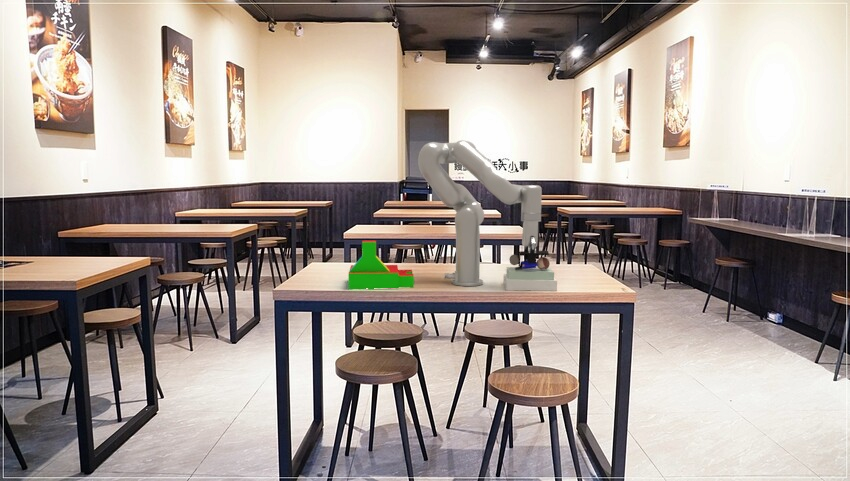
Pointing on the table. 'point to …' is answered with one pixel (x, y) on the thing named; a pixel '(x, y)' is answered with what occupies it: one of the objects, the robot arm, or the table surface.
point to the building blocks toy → (377, 272)
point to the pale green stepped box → (530, 279)
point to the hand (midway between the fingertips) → (530, 261)
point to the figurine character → (541, 263)
